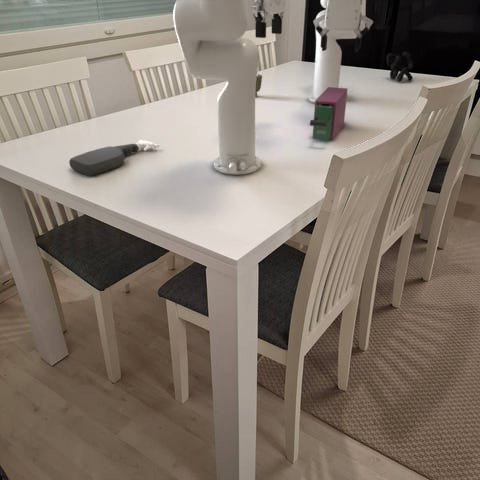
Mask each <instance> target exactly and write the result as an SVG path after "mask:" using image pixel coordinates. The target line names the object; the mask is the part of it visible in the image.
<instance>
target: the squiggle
mask: <svg viewBox="0 0 480 480" xmlns="http://www.w3.org/2000/svg"><path fill="white" fill-rule="evenodd" d="M401 57H402V59H401ZM391 59H392V60H391ZM393 60H394V61H393ZM385 61H386V64H387V67H390V68H391V70H390V72H389V78H390V79H391V80H395V79H396V81H397V82H399V83H400V82H402V81H403V79H404V76H406V78H407V80H408V81H412V80H413V79H414V77H413V75H412V74H411V73H410V72H409V71H410V70H412V69H413V68H414V64H413V61H412V57H411V54H410V53H409V52H408V51H403V53H402V54H401V55H396V54H394V53H392V52H390V53H387V55H386V57H385ZM406 62H407V65H408V66H407V67H405V66H404V65H405V64H406ZM400 70H401V71H400Z"/></svg>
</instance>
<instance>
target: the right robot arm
mask: <svg viewBox="0 0 480 480" xmlns="http://www.w3.org/2000/svg"><path fill="white" fill-rule="evenodd" d="M366 4H367V0H320V5H321V7H322V8H324V10H321V11H320V12H318V13H317V15H316V17H315V19H314V20H313V21H312V22H313V25H314V27H315V58H314V73H313V74H314V75H313V87H312V88H313V90H312V94H310V95H309V96H308V101H309V102H311V103H314V104H315V100H316V99H317V98H318V97H319V96H320V95H321V94H322V93H323V92H324V91H325V90H326V89H327V88H328V87H335V88H340V86H339V85H340V75H341V65H342V57H343V55H342V54H343V52H342V49H341V46H340V45H339V44H338V42H337V40H343V39H344V40H350V39H351V40H352V39H354V47H353V53H358V52H359V50H360V49H361V45H362V44H361V43H362V38H363V36H365V35H366V33H367V32H368V31H369V30H370V29H371V27H372V25H373V24H374V20H372V19H371V18H369V17H367V16H366V13H367V12H366V9H367V7H366Z"/></svg>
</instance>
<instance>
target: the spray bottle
mask: <svg viewBox="0 0 480 480" xmlns="http://www.w3.org/2000/svg"><path fill="white" fill-rule="evenodd" d="M159 148H160V145H159V144H158V143H155V142H151V141H148V140H144V139H139V140H138V141H137V142H135V143H129V144H128V143H126V144H122V145H113V146H105V147H100V148H97V149H94V150H90V151H87V152H83V153H81V154H78V155H74V156H73V157H70V159H69V161H68V162H69V167H70V168H71V169H72V170H74V171H75V172H78V173H81V174H83V175H85V176H89V177H90V176H91V177H92V176H95V175H99V174H102V173H105V172H107V171H110V170H113V169H116V168H118V167H120V166H122V165H123V164H124V163H125V158H126V156H127V155H131V154H133V153H138V151H140V150H143V151H144V152H146V151H147V150H149V149H159Z"/></svg>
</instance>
